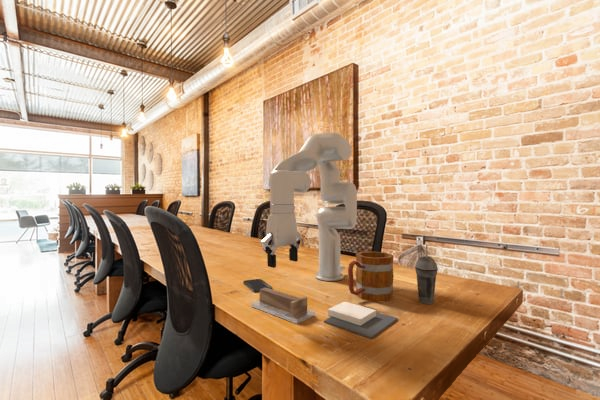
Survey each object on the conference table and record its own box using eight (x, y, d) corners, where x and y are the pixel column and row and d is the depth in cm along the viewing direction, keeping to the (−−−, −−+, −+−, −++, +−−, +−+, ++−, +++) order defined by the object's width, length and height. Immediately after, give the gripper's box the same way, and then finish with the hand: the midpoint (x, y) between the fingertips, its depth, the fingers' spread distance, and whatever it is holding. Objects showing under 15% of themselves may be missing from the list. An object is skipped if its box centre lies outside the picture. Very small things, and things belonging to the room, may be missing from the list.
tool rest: (269, 300, 104) (269, 296, 104) (314, 315, 90) (314, 311, 90) (251, 306, 98) (251, 303, 98) (296, 324, 84) (296, 319, 84)
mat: (353, 307, 98) (353, 305, 98) (397, 319, 88) (397, 317, 88) (323, 322, 86) (323, 320, 86) (371, 338, 76) (371, 336, 76)
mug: (372, 287, 118) (372, 250, 118) (401, 297, 107) (401, 255, 107) (335, 297, 107) (335, 255, 107) (364, 309, 96) (364, 262, 96)
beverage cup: (436, 299, 105) (436, 242, 105) (438, 306, 98) (439, 246, 98) (414, 297, 107) (414, 241, 107) (415, 304, 100) (415, 244, 100)
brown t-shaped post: (269, 297, 103) (269, 286, 103) (307, 310, 91) (307, 297, 91) (255, 302, 98) (255, 290, 98) (292, 316, 87) (293, 302, 87)
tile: (344, 301, 96) (376, 310, 88) (344, 307, 96) (376, 316, 88) (327, 309, 89) (360, 319, 82) (327, 315, 89) (360, 326, 82)
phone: (260, 278, 129) (273, 288, 115) (260, 281, 129) (273, 291, 115) (242, 280, 125) (253, 290, 112) (242, 283, 125) (253, 293, 112)
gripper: (292, 207, 103) (292, 257, 104) (253, 211, 90) (254, 267, 91) (309, 208, 98) (309, 260, 99) (270, 212, 85) (271, 271, 86)
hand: (283, 263), depth 95 cm, fingers open, 9 cm apart
